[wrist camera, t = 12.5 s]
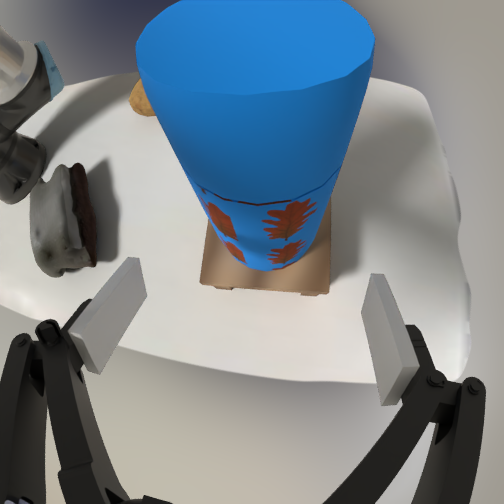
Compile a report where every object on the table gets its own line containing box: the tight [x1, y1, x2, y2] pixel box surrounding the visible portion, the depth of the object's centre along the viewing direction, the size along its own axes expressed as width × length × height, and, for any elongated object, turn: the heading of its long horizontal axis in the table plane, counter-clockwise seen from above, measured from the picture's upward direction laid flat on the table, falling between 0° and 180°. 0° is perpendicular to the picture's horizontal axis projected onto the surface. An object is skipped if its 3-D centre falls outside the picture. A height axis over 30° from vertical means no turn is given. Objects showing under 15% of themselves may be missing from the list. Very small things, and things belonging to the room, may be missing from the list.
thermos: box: [136, 0, 375, 271], centre depth 22 cm, size 11×11×25 cm
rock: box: [30, 163, 97, 277], centre depth 40 cm, size 18×11×8 cm, turn 24°
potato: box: [129, 78, 156, 117], centre depth 46 cm, size 10×14×8 cm
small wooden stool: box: [200, 196, 331, 296], centre depth 37 cm, size 14×14×7 cm
